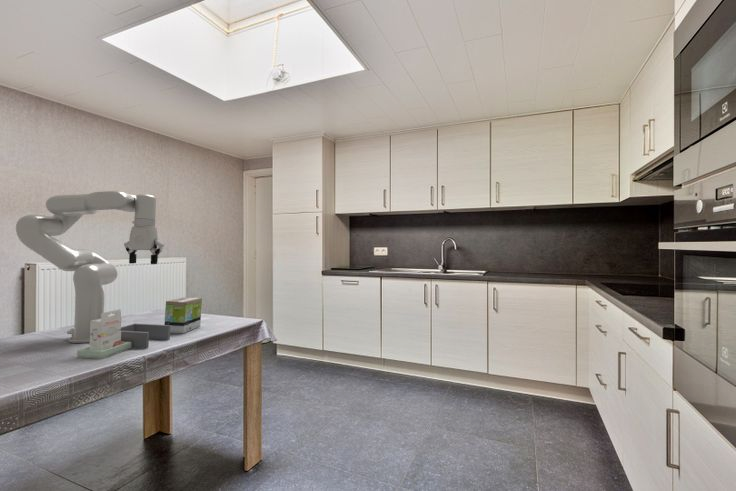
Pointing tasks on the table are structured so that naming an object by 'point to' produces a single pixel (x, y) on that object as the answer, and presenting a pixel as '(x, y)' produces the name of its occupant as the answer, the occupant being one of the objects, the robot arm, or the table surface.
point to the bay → (144, 334)
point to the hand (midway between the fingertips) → (143, 263)
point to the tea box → (183, 314)
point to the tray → (103, 354)
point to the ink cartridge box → (106, 331)
